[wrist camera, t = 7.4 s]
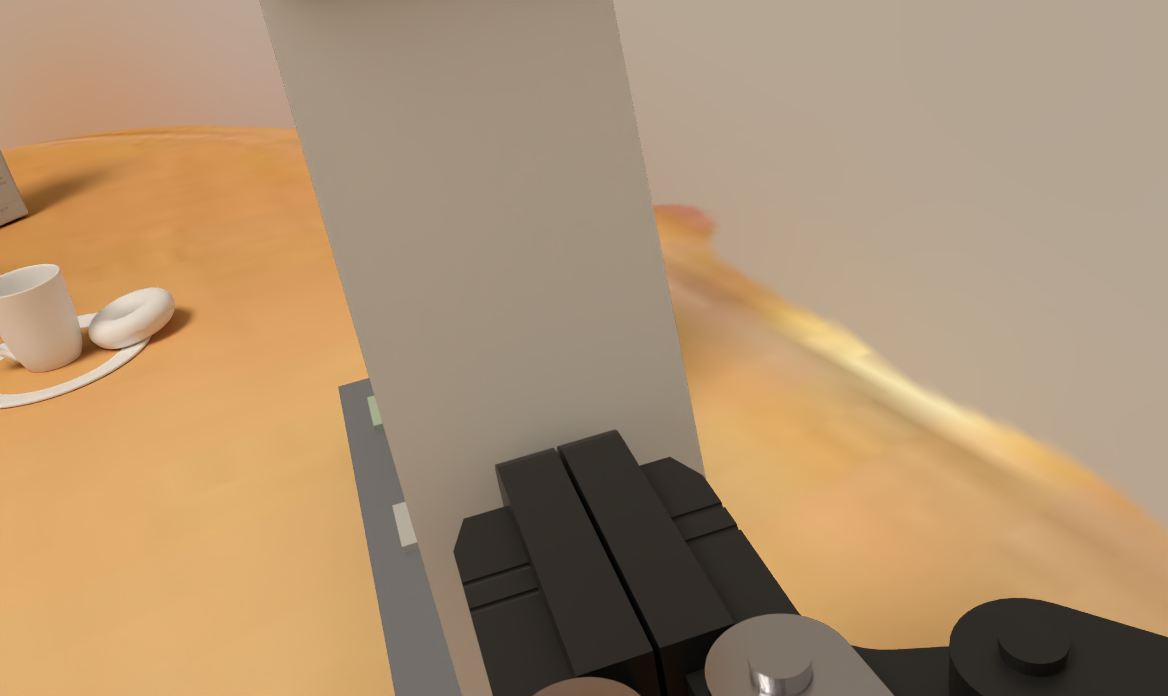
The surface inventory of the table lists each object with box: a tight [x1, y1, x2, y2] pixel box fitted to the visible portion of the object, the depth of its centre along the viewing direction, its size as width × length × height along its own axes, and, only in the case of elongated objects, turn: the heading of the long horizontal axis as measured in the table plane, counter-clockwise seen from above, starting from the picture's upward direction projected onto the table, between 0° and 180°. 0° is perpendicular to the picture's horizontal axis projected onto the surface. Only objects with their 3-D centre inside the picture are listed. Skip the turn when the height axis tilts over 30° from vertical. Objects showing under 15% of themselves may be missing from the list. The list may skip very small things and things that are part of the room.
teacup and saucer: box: [0, 264, 175, 408], centre depth 42 cm, size 9×8×4 cm
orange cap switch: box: [259, 0, 706, 696], centre depth 13 cm, size 4×2×16 cm, turn 107°
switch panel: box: [338, 378, 462, 696], centre depth 23 cm, size 6×25×2 cm, turn 17°
